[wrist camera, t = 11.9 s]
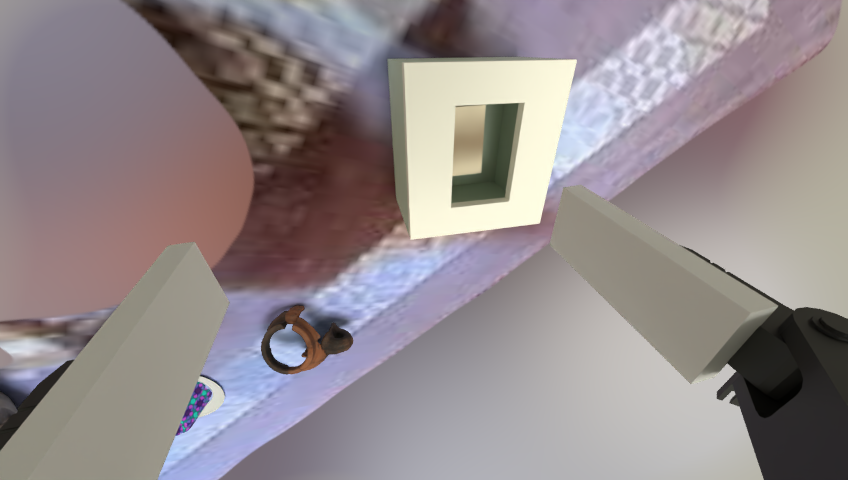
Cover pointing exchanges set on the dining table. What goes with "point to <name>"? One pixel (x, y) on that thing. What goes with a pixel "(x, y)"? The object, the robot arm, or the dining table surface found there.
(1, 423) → the bowl
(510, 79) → the slot box
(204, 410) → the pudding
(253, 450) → the dining table surface
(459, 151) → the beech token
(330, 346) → the pottery mug
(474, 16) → the dining table surface
